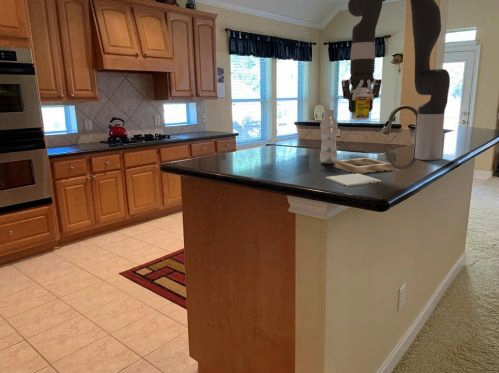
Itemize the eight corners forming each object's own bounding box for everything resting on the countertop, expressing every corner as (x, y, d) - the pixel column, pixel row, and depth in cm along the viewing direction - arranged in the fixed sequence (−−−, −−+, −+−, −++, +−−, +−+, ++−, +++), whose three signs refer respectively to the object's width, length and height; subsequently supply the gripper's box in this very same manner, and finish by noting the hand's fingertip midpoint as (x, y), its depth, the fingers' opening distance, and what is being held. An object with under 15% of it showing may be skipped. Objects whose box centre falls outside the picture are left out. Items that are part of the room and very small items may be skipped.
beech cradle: (366, 163, 145) (366, 157, 145) (391, 169, 132) (391, 163, 132) (333, 167, 141) (333, 161, 140) (356, 174, 128) (356, 167, 127)
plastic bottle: (340, 162, 148) (341, 109, 143) (331, 165, 143) (332, 110, 138) (326, 161, 152) (326, 109, 148) (316, 164, 148) (316, 110, 143)
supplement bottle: (356, 120, 125) (357, 87, 123) (348, 119, 131) (349, 88, 128) (372, 119, 126) (373, 87, 124) (363, 118, 132) (365, 87, 129)
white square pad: (358, 174, 127) (358, 173, 127) (381, 182, 116) (381, 180, 116) (325, 178, 123) (325, 176, 123) (347, 186, 112) (347, 184, 112)
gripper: (374, 59, 130) (371, 110, 134) (336, 59, 125) (335, 112, 129) (389, 57, 123) (385, 111, 127) (349, 57, 118) (347, 113, 122)
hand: (360, 111), depth 128 cm, fingers closed on supplement bottle, 5 cm apart
